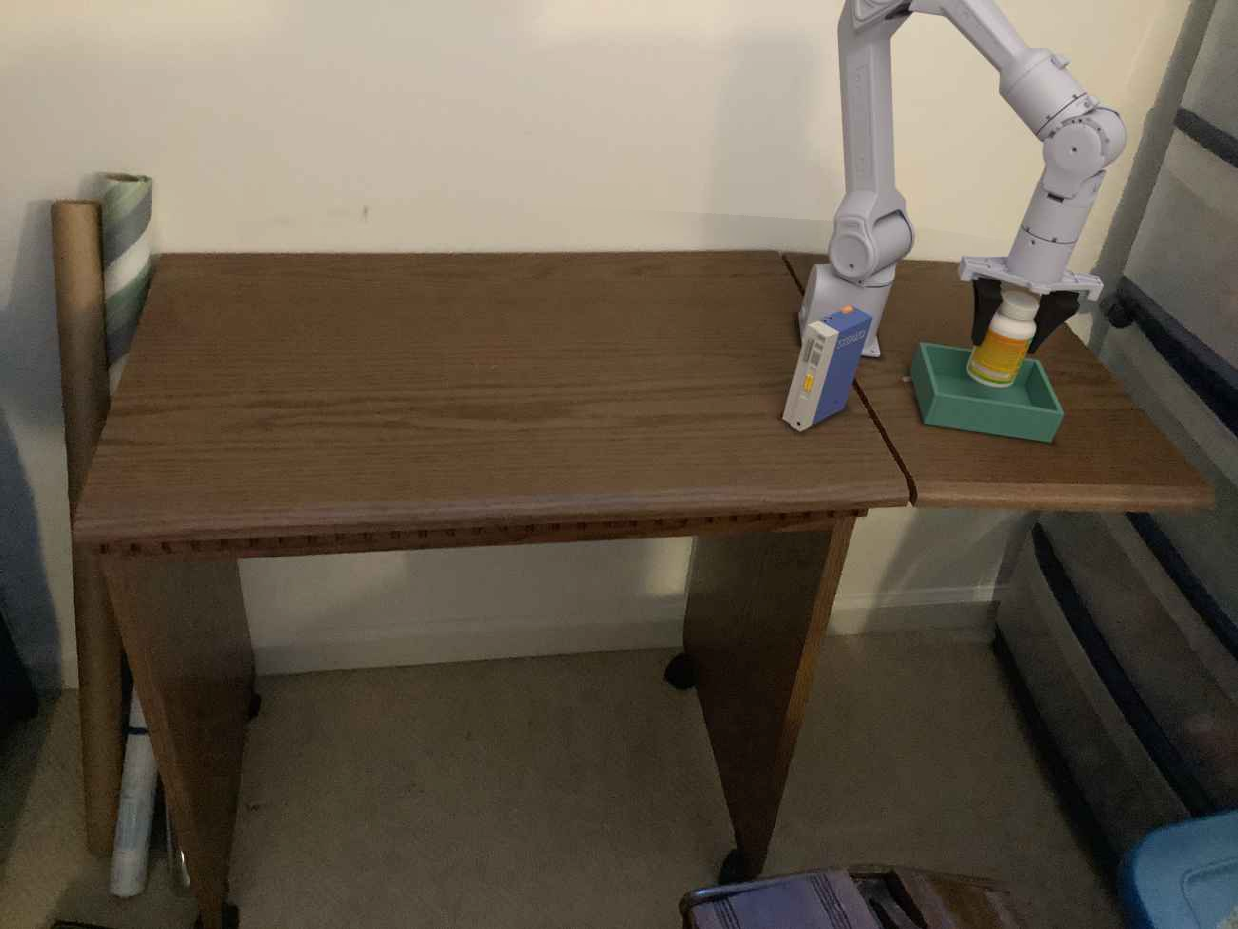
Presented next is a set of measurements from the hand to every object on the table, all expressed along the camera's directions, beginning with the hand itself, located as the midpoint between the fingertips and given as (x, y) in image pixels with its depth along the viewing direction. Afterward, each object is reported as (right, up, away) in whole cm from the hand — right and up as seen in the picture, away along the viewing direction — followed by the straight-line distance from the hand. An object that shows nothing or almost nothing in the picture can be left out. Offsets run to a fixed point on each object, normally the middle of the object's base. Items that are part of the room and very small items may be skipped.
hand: (1001, 345), depth 111 cm
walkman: (-21, -8, -1) cm, 22 cm away
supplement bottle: (0, -3, +3) cm, 4 cm away
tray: (-1, -6, +5) cm, 8 cm away
